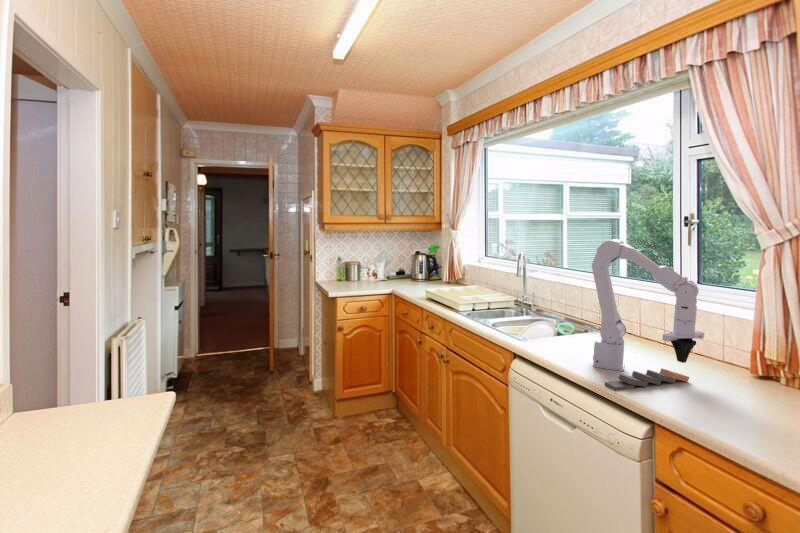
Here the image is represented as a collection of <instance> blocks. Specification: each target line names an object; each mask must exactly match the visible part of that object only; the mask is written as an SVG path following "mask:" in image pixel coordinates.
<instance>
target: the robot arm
mask: <svg viewBox="0 0 800 533" xmlns="http://www.w3.org/2000/svg"><path fill="white" fill-rule="evenodd" d="M617 259H619V260H630V261H631V262H633V263H634V264H636V265H638V266H639V267H640V268H643V269H644V270H646V271H647V272H648V273H650V274H652V280H654V281H655V282H656V283H658V284H660V285H661V286H662V287H663V288H665V289H666V290H667V291H670V292H672V293H674V296H675V298H676V299H675V305H674V313H673V314H674V315H673V316H674V317H673V327H672V328H673V330H672V331H670V332H666V333H662V339H661V340H662V341H665V342H670V343H671V345H672V347H673V348H674V354H675V355H676V361H678V363H682V364H684V363H686V362H687V360H688V358H689V356H690V353H691V352H692V350H693V349H694V347H695V346H697V341H696V340H695V339H700V340H701V339H704V338H705V332H703V331H699V330H697V331H696V320H697V308H698V307H697V303H698V301H697V300H698V299H697V297H698V294H699V292H700V290H699V286H698V285H697V284H696V283H695V282H694V281H693V280H688V279H689V278H688V277H687V276H683V275H680V274H679V273H678V272H677V271H675V269H674V267H673V266H668V265H659V264H657V263H656V262H654V261H653V260H652V259H650V258H649V257H647V255H645V254H643V253H642V252H641V251H639V250H638V249H637V248H635V247H633V246H632V245H630V244H628V243H625V242H624V241H623V240H621V239H618V238H617V239H616V238H615V239H607V240H605V241H603V242H602V243H601V244H600V245H599V246H598V247H597V249H596V253H595V256H594V258H593V261H592V263H591V269H592V275H593V278H594V284H595V288H596V294H597V298H598V304H599V308H600V313H601V318H600V324H601V325H600V326H601V329H600V337H601V338H600V339H595V340H594V346H593V355H592V361H593V362H592V367H594V368H600V369H606V370H612V371H621V372H624V370H625V363H624V355H625V354H624V352H625V340H624V339H623V337H624V336H625V335H626V333H627V327H626V324H624V322H623V320H622V319H621V318H622V317H621V315H620V313H618V308H617V303H616V298H615V293H614V289H613V284H612V280H611V275H610V271H609V270H610V267H611V266H612V264H613V263H614V262H615V261H616V260H617ZM693 339H694V340H693Z"/></svg>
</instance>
